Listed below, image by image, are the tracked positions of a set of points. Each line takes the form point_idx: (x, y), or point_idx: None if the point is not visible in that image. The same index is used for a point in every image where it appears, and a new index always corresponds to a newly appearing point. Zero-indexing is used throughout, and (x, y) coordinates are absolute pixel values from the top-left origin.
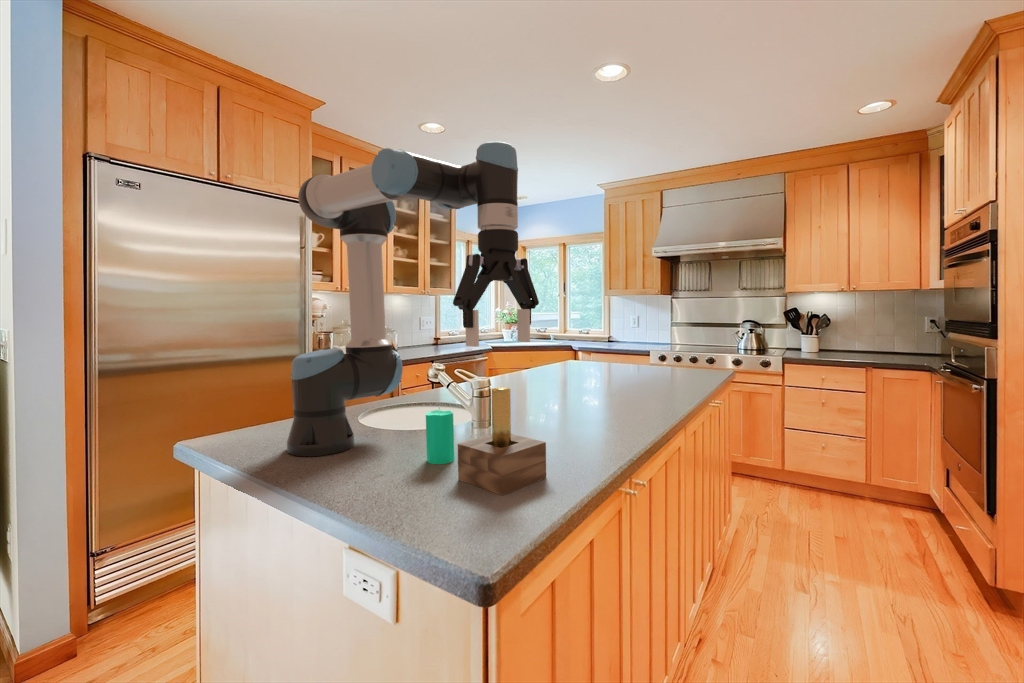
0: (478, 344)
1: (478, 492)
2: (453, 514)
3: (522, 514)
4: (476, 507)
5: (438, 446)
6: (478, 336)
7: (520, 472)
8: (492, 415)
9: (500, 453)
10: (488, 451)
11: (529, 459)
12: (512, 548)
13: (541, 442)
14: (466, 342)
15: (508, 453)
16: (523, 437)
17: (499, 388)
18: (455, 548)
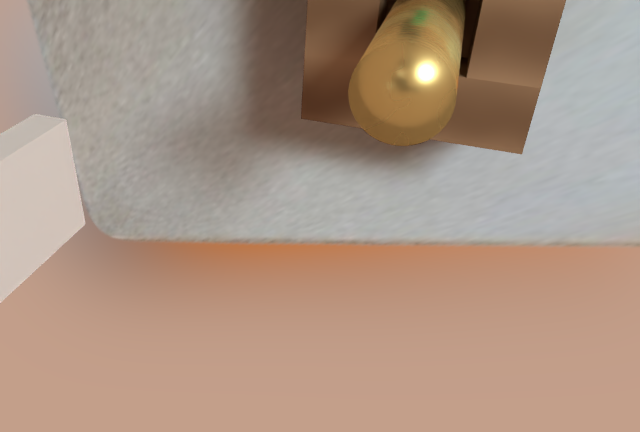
0: (73, 230)
1: (306, 9)
2: (177, 52)
3: (277, 176)
4: (236, 71)
5: None
6: (34, 267)
7: None
8: (377, 31)
9: (321, 98)
10: (313, 51)
11: None
12: (171, 226)
13: (509, 143)
14: (17, 131)
15: (336, 120)
16: (544, 47)
17: (407, 82)
18: (104, 152)
